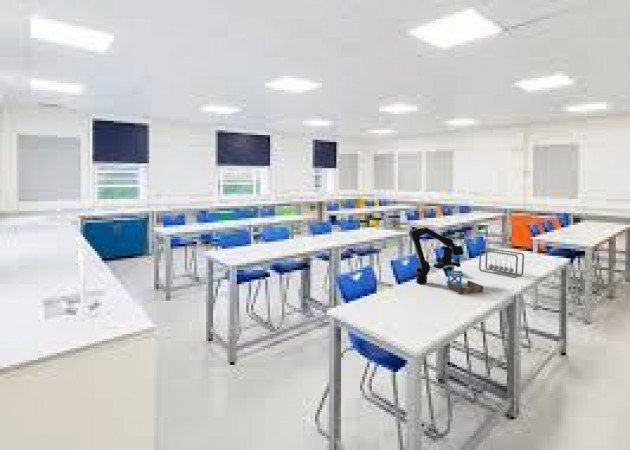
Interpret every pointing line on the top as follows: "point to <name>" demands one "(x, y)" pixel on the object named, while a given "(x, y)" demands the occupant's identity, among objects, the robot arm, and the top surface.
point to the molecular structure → (455, 278)
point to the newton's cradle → (501, 261)
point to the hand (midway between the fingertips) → (446, 276)
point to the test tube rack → (452, 269)
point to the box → (466, 288)
